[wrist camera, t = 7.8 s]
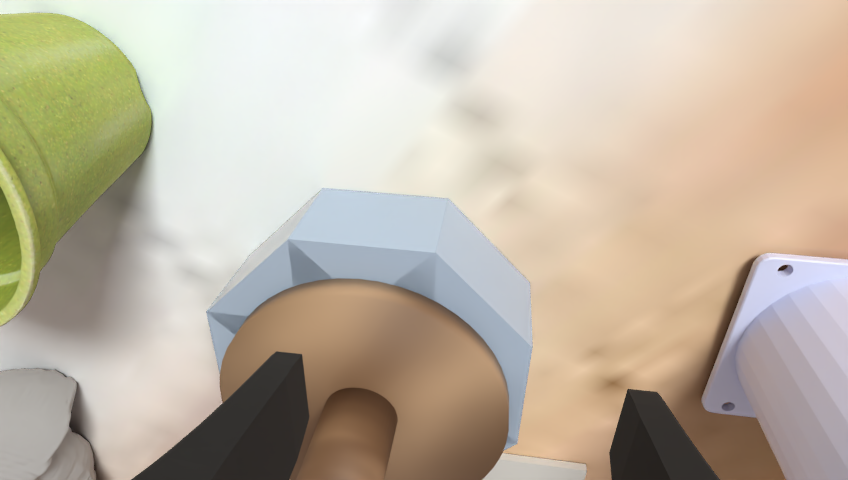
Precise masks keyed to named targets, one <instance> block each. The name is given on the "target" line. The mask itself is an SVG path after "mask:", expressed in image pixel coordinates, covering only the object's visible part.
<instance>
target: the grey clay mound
mask: <svg viewBox="0 0 848 480" xmlns="http://www.w3.org/2000/svg"><path fill="white" fill-rule="evenodd" d="M76 389H77V382H76V381H75V380H74V379H73V378H72V377H65V376H64V375H63V374H62V373H59V372H58V371H56V370H43V369H40V368H36V369H26V368H23V369H11V370H6V371H0V480H96V472H95V470H94V459H93V452H92V450H91V446H90V443H89V442H88V441H87V440H85V439H84V438H83V437H81V436H80V435H79V434H77V433H73V432H72V431H71V428H70V427H69V423H70V419H71V410H72V406H73V402H74V398H75V394H76Z"/></svg>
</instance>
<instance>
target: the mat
mask: <svg viewBox="0 0 848 480" xmlns="http://www.w3.org/2000/svg"><path fill="white" fill-rule="evenodd" d="M586 472H587V468H586V464H582V463H574V462H566V461H559V460H551V459H543V458H536V457H528V456H520V455H512V454H505V453H502V455H501V457H500V459H499V460H498V462H497V463H496V465H495V466H494V468H493V469H492V470H491V471H490V472H489V473H488V474H487V475H486V476H485V477H484V478H483V479H482V480H585V476H586Z"/></svg>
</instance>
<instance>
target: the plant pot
mask: <svg viewBox="0 0 848 480" xmlns="http://www.w3.org/2000/svg"><path fill="white" fill-rule="evenodd" d="M151 125H152V120H151V110H150V107H149V106H148V104H147V103H146V101H145V98H144V96H143V93H142V91H141V88H140V86H139V82H138V79H137V75H136V71H135V69H134V67H133V65H132V64H131V63H130V61H129V60H128V59H127V57H126V56H125V55H124V54H123V53H122V52H121V51H120V49H119V48H118V47H117V46H116V45H115V44H113V43H112V42H111V41H110V40H109V39H108V38H107V37H105V36H104V35H103V34H101V33H100V32H99V31H97V30H96V29H94V28H93V27H91V26H89V25H87V24H86V23H84V22H82V21H79V20H77V19H75V18H72V17H68V16H65V15H61V14H53V13H19V14H0V326H2V325H4V324H6V323H7V322H9V321H10V320H11V319H13V318H14V317H15V316H16V315H17V314H18V313H19V312H20V311H21V310H22V309H23V308H24V307H25V306H26V305H27V303H28V302H29V301H30V299H31V297H32V295H33V293H34V291H35V288H36V286H37V282H38V279H39V274H40V271H41V270H42V268H43V267H44V266H45V265H46V263H47V262H48V260H49V259H50V257H51V255H52V254H53V251H54V248H55V245H56V243H57V242H58V241H59V240H60V239H61V238H62V236H63V235H64V234H65V233H66V232H67V231H68V230H69V229H70V228H71V227H72V226H73V225H74V224H75V222H76V221H77V220H78V219H79V218H80V217H81V216H82V215H83V214H84V213H85V212H86V211H87V210H88V209H89V207H90V206H91V205H92V204H93V203H94V202H95V201H96V200H97V199H98V198H99V197H100V196H101V195H102V194H103V193H104V192H105V191H106V190H107V189H108V188H109V187H110V186H111V185H112V184H113V183H114V182H115V181H116V180H117V179H118V178H119V177H120V176H121V175H122V174H123V173H124V172H125V171H126V170H127V169H128V168H129V167H130V165H131V164H132V163H133V162H134V161H135V160H136V159H137V158H138V157H139V156H140V155H141V154H142V153H143V151H144V149H145V147H146V145H147V143H148V140H149V137H150V132H151Z"/></svg>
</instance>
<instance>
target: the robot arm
mask: <svg viewBox="0 0 848 480" xmlns="http://www.w3.org/2000/svg"><path fill="white" fill-rule="evenodd" d="M783 265H789V266H788V267H787V268H786V269H784V270H782V271H777V270H778V269H779V268H780V267H781V266H783ZM701 402H702V404H703V407H704V409H705V410H707V411H708V412H712V413H720V414H728V415H737V416H745V417H754V418H757V420H758V422H759V424H760V426H761V428H762V430H763V432H764V434H765V436H766V438H767V441H768V443H769V445H770V447H771V449H772V451H773V453H774V455H775V457H776V459H777V462H778V464H779V466H780V468H781V470H782V472H783V474H784V476H785V478H786V480H848V260H847V259H835V258H824V257H813V256H801V255H790V254H778V253H765V254H763V255H760V256H759V257H758V258H756V259H755V261H754V262H753V265H752V267H751V270H750V272H749V275H748V278H747V280H746V283H745V286H744V288H743V291H742V293H741V296H740V299H739V301H738V304H737V307H736V309H735V312H734V314H733V317H732V320H731V322H730V325H729V328H728V330H727V333H726V335H725V338H724V341H723V343H722V346H721V349H720V351H719V354H718V356H717V359H716V362H715V364H714V367H713V369H712V372H711V375H710V377H709V380H708V383H707V385H706V388H705V390H704V393H703V396H702V400H701ZM727 402H730V403H728V404H724V403H727ZM308 421H309V409H308V400H307V392H306V383H305V375H304V366H303V357H302V354H296V353H287V352H278V351H276V352H275V353H274V354H272V355H271V356H270V357H269V358H268V359H267V360H266V361H265V362H264V363H263V364H262V365H261V366H260V367H259V368H258V369H257V370H256V371H255V372H254V373H253V374H252V375H251V376H250V377H249V378H248V379H247V380H246V381H245V382H244V383H243V384H242V385H241V386H240V387H239V388H238V389H237V390H236V391H235V392H234V393H233V394H232V395H231V396H230V397H229V398H228V399H227V400H226V401H225V402H223V403H222V404H221V405H220V406H219V407H218V408H217V409H216V410H215V411H214V412H213V413H212V414H211V415H210V416H209V417H207V418H206V419H205V420H204V421H203V422H202V423H201V424H200V425H199V426H197V427H196V428H195V429H194V430H193V431H191V432H190V433H189V434H188V435H187V436H186V437H184V438H183V439H182V440H181V441H180V442H179V443H177V444H176V445H175V446H174V447H173V448H172V449H170V450H169V451H168V452H167V453H165V454H164V455H163V456H162V457H160V458H159V459H158V460H157V461H155V462H154V463H153V464H152V465H150V466H149V467H148V468H146V469H145V470H144V471H142V472H141V473H140V474H138V475H137V476H136V477H134V478H133V479H132V480H289V479H290V476H291V474H292V471H293V469H294V467H295V464H296V462H297V459H298V456H299V452H300V449H301V446H302V442H303V439H304V435H305V432H306V428H307V424H308ZM610 464H611V475H612V480H720V479H719V478H718V477H717V475H716V474H715V473H714V471H713V470H712V469H711V467H710V466H709V465H708V463H707V462H706V461H705V459H704V458H703V457H702V455H701V454H700V452H699V451H698V450H697V448H696V447H695V445H694V444H693V443H692V441H691V440H690V438H689V437H688V436H687V434H686V433H685V431H684V430H683V428H682V427H681V425H680V424H679V423H678V421H677V420H676V418H675V417H674V415H673V414H672V412H671V411H670V409H669V408H668V406H667V405H666V403H665V402H664V400H663V399H662V397H661V396H660V395H659V394H658V393H657V392H650V391H641V390H632V389H628V390H627V394H626V397H625V401H624V404H623V408H622V411H621V415H620V418H619V422H618V425H617V428H616V432H615V435H614V439H613V442H612V446H611V449H610Z"/></svg>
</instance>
